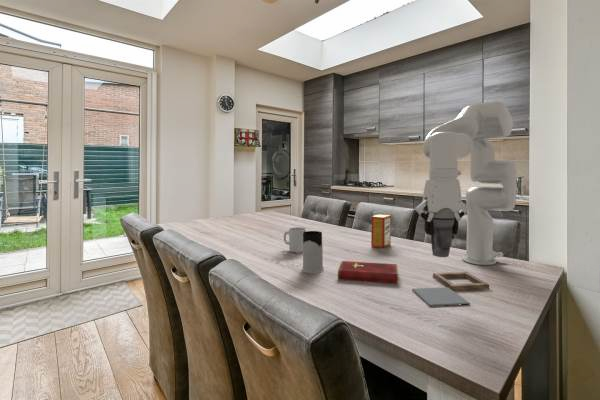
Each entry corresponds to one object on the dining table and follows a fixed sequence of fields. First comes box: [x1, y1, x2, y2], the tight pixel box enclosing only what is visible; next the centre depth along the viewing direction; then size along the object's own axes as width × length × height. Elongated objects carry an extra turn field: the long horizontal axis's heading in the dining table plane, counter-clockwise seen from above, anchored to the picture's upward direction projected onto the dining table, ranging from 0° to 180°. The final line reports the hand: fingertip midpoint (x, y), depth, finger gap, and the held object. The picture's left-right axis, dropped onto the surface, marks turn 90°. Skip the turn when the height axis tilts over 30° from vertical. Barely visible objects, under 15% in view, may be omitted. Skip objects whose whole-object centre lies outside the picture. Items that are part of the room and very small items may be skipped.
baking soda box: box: [370, 213, 392, 249], centre depth 159 cm, size 10×6×16 cm
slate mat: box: [411, 286, 471, 307], centre depth 95 cm, size 12×12×1 cm
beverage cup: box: [430, 208, 455, 258], centre depth 93 cm, size 7×7×20 cm
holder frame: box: [432, 271, 490, 291], centre depth 107 cm, size 13×13×2 cm
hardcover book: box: [337, 260, 400, 285], centre depth 115 cm, size 12×21×4 cm, turn 75°
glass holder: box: [301, 230, 325, 274], centre depth 125 cm, size 9×14×15 cm, turn 160°
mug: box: [283, 226, 307, 254], centre depth 153 cm, size 12×8×11 cm
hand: (441, 233), depth 93 cm, fingers closed on beverage cup, 6 cm apart
